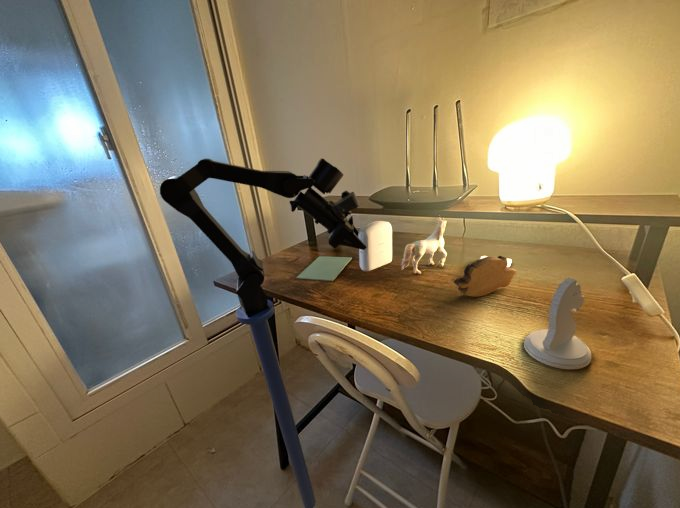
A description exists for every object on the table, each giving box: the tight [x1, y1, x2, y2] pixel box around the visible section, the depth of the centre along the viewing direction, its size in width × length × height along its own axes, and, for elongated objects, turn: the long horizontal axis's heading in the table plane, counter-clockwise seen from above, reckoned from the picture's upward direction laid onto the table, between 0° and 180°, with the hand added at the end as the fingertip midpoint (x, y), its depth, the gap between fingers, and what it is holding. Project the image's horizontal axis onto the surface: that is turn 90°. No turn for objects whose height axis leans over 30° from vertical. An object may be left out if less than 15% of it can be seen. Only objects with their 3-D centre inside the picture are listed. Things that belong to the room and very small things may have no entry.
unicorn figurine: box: [400, 216, 448, 275], centre depth 90 cm, size 7×20×13 cm, turn 128°
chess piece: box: [523, 277, 592, 370], centre depth 52 cm, size 10×10×15 cm
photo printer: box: [358, 220, 393, 272], centre depth 82 cm, size 10×4×12 cm, turn 126°
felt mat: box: [295, 255, 353, 282], centre depth 103 cm, size 18×13×1 cm
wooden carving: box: [453, 255, 517, 298], centre depth 74 cm, size 16×5×10 cm, turn 110°
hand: (365, 245), depth 80 cm, fingers closed on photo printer, 4 cm apart
